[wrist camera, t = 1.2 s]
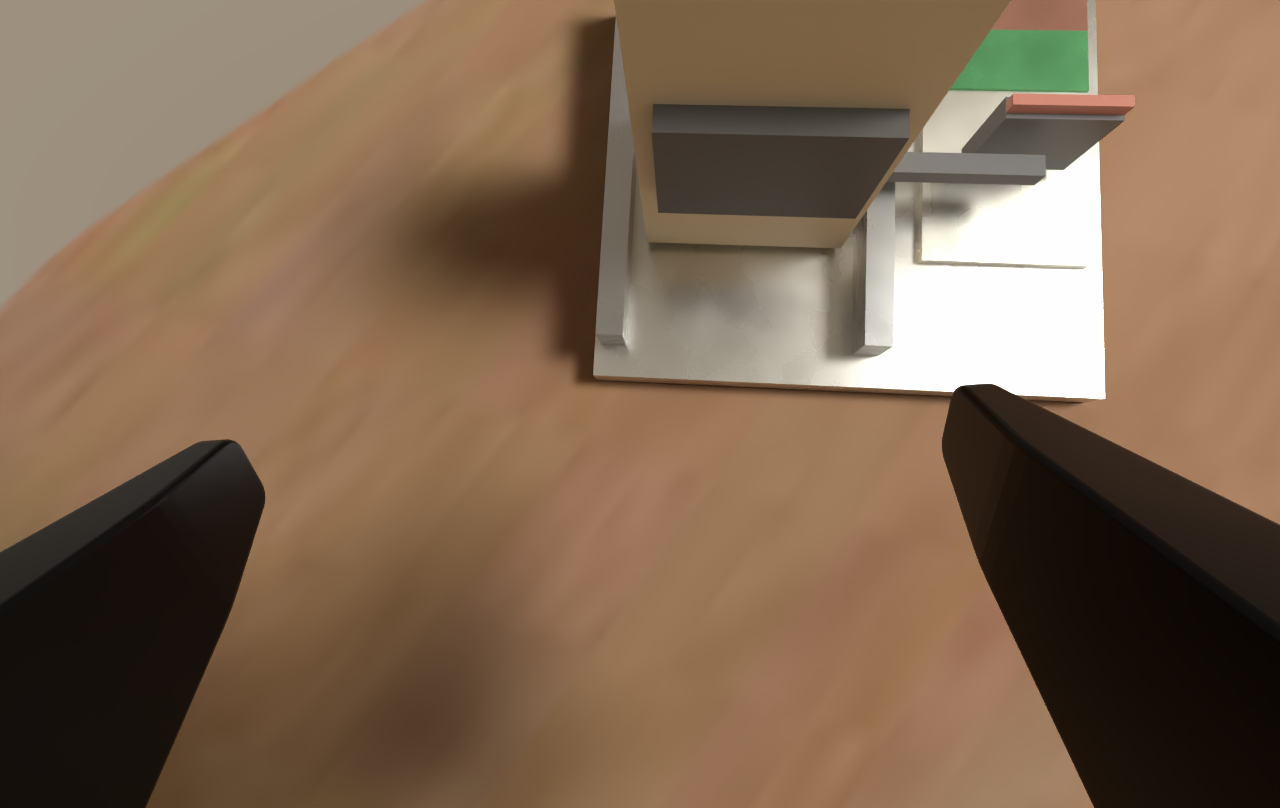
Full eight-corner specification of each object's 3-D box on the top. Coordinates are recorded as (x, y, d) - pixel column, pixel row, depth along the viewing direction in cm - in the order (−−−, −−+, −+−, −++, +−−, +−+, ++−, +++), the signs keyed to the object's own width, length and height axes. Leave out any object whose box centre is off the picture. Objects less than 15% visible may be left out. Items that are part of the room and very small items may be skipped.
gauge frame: (1085, 402, 21) (1138, 391, 19) (597, 380, 22) (586, 367, 20) (1077, 19, 23) (1126, -37, 20) (619, 15, 24) (613, -40, 21)
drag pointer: (1063, 170, 20) (1134, 112, 17) (961, 167, 20) (1013, 109, 17) (1063, 151, 20) (1133, 90, 17) (961, 148, 21) (1012, 88, 17)
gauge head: (1007, 273, 20) (1386, 30, 9) (646, 260, 21) (609, 22, 10) (1006, 145, 21) (1365, -227, 10) (653, 136, 22) (625, -218, 11)
